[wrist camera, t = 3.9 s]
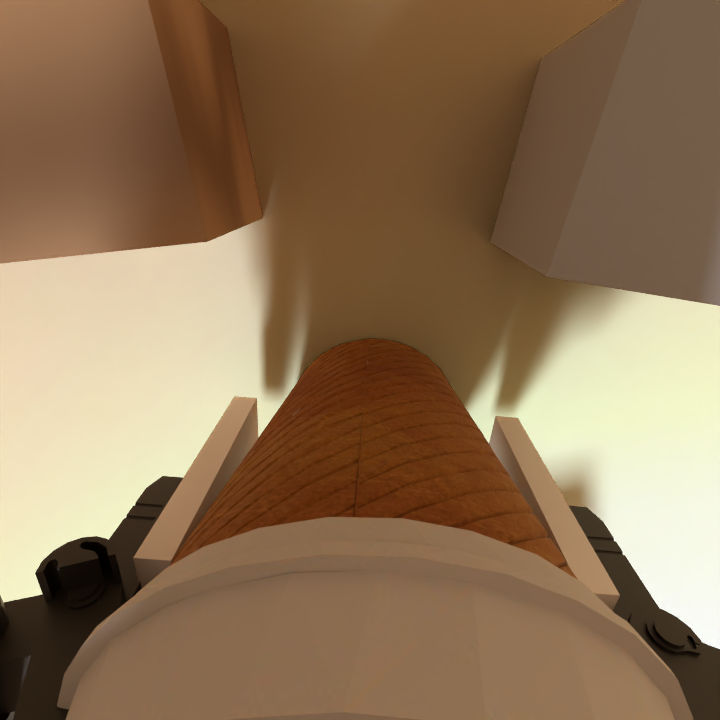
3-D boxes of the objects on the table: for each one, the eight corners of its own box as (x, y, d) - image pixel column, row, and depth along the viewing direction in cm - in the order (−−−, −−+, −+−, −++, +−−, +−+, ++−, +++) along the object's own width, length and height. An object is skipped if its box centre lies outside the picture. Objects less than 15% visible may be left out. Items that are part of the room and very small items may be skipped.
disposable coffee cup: (431, 242, 14) (651, 532, 3) (532, 455, 17) (819, 978, 6) (201, 367, 16) (-193, 808, 5) (330, 534, 19) (268, 1023, 8)
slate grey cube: (540, 59, 12) (645, -13, 7) (712, 90, 12) (925, 39, 7) (489, 241, 14) (546, 276, 9) (637, 266, 14) (765, 313, 9)
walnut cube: (57, 53, 12) (-139, -20, 7) (227, 28, 12) (132, -64, 7) (117, 233, 14) (-8, 264, 9) (263, 217, 14) (207, 241, 9)
